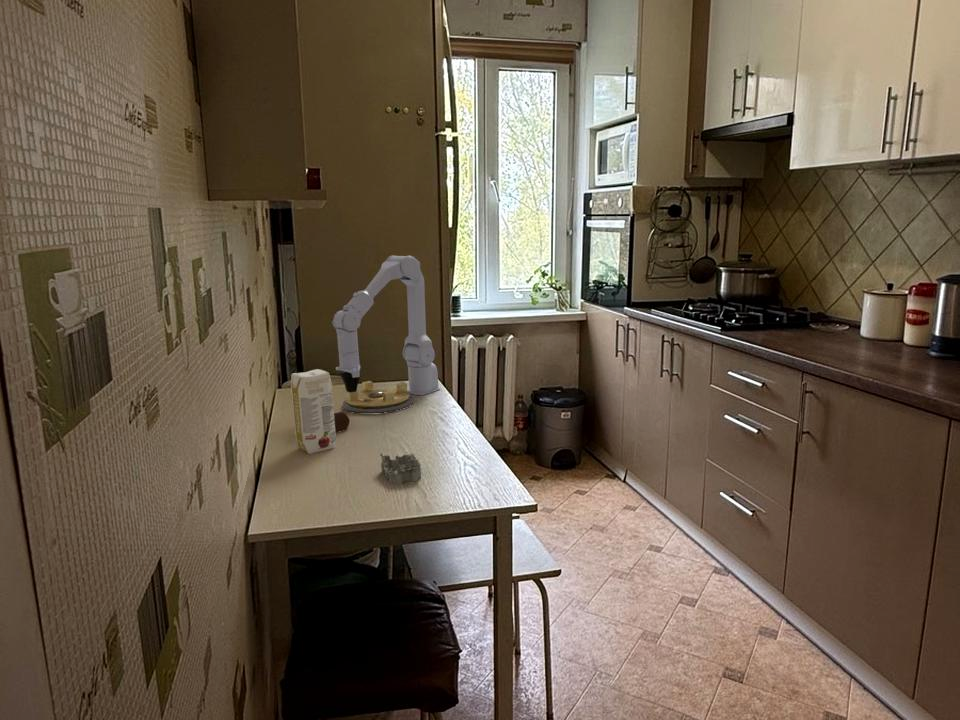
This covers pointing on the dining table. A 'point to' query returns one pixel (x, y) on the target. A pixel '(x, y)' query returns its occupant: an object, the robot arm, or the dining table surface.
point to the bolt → (341, 421)
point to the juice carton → (313, 411)
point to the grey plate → (377, 410)
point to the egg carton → (401, 468)
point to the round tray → (378, 396)
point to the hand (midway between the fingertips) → (352, 396)
